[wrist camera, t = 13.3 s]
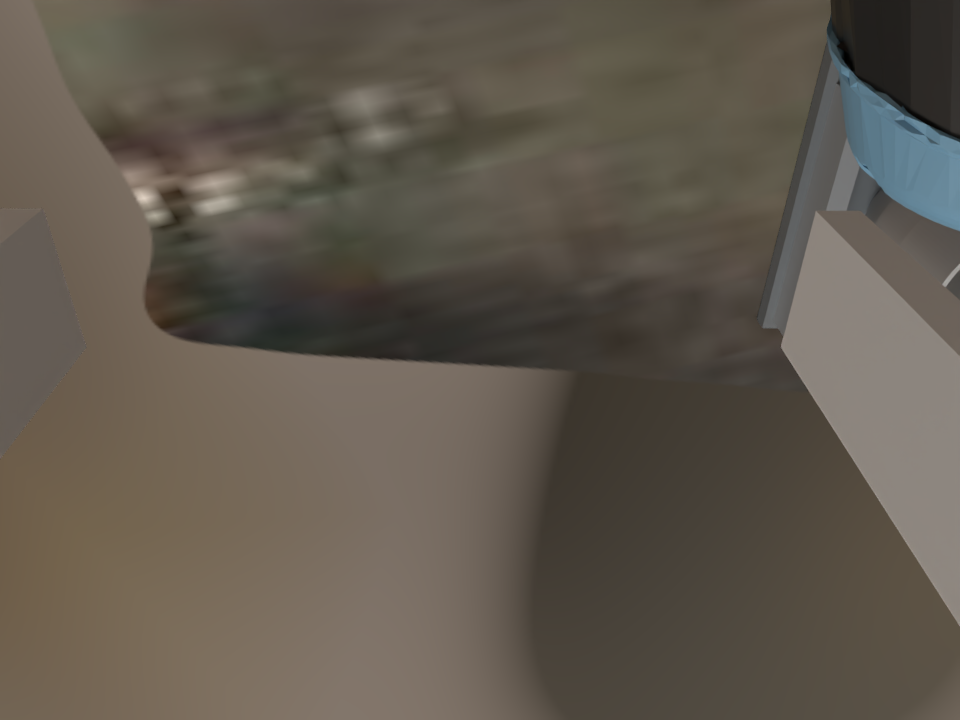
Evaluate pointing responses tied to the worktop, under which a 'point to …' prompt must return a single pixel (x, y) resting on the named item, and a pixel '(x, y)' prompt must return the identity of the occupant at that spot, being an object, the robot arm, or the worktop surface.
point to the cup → (920, 239)
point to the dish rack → (814, 192)
